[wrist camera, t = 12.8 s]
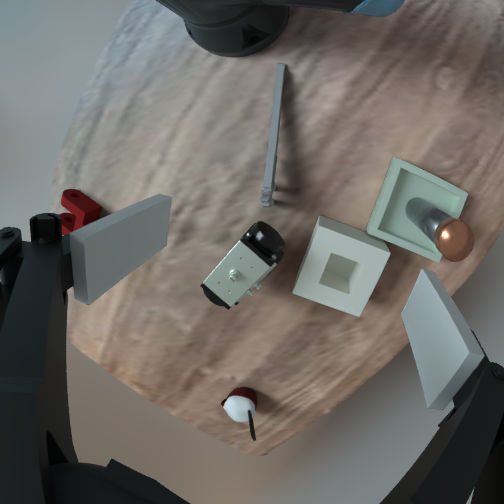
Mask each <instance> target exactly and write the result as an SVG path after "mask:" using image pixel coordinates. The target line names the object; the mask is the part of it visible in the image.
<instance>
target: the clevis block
mask: <svg viewBox="0 0 504 504" xmlns="http://www.w3.org/2000/svg"><path fill="white" fill-rule="evenodd" d="M390 254H391V253H390V251H389V249H388V247H387V246H386V244H385V242H384V240H383V239H381V238H378V237H376V236H373V235H371V234H368V233H366V232H364V231H361V230H359V229H356V228H353V227H351V226H348V225H346V224H343V223H340V222H338V221H335V220H332V219H330V218H327V217H324V216H322V215H319V217H318V220H317V223H316V226H315V228H314V231H313V234H312V236H311V239H310V242H309V244H308V247H307V250H306V252H305V255H304V258H303V260H302V263H301V265H300V268H299V271H298V273H297V276H296V280H295V284H294V289H293V294H295V295H298V296H301V297H304V298H307V299H309V300H312V301H315V302H318V303H321V304H324V305H326V306H329V307H332V308H335V309H338V310H341V311H344V312H346V313H349V314H352V315H355V316H358V317H359V316H360V315H361V313H362V311H363V309H364V307H365V305H366V303H367V301H368V299H369V297H370V295H371V293H372V292H373V290H374V288H375V285H376V283H377V281H378V279H379V277H380V275H381V273H382V271H383V269H384V267H385V265H386V263H387V260H388V258H389V256H390Z"/></svg>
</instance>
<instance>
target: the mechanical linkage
mask: <svg viewBox="0 0 504 504" xmlns="http://www.w3.org/2000/svg"><path fill="white" fill-rule="evenodd" d="M61 204H62V206H63V207H65V208H66V209H67V210H68V211H70V212H71V213H72V214H71V213H62V214H60V216H61V219H62V234H63V235H66V234H68V233H70V232H73V231H75V230H77V229H79V228H81V227H83V226H85V225H87V224H90V223H92V222H95V221H97V220H99V219H100V218H99V215H100V211H101V208H102V206H100V205H99V204H97V203H96V202H95V201H93V200H92V199H90V198H89V197H88V196H86V195H85V194H83V193H82V192H81V191H79V190H75V189H67V190H65V191H64V192H63V194H62V199H61Z"/></svg>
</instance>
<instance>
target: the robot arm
mask: <svg viewBox="0 0 504 504" xmlns="http://www.w3.org/2000/svg"><path fill="white" fill-rule="evenodd" d="M156 1H158V2H159V3H161V4H162V5H164V6H165V7H167V8H168V9H170V10H171V11H173V12H174V13H176V14H177V15H179V16H180V17H182V18H183V20H184V22H185V26H186V29H187V32H188V34H189V35H190V37H191V38H192V39H193V40H194V42H196V43H197V44H198V45H199V46H201V47H202V48H204V49H205V50H207V51H208V52H210V53H213V54H216V55H219V56H225V57H239V56H245V55H249V54H253V53H255V52H258V51H260V50H262V49H264V48H265V47H267V46H269V45H270V44H271V43H273V42H274V41H275V40H276V39H277V38H278V37H279V36H280V34H281V33H282V32H283V30H284V28H285V26H286V24H287V21H288V17H289V7H288V6H296V7H309V8H319V9H328V10H336V11H343V13H345V14H355V13H357V14H364V15H370V16H376V17H385V16H388V15H390V14H392V13H394V12H395V11H397V10H398V9H399V8H400V7H401V5H402V4H403V2H404V1H405V0H156ZM171 200H172V197H170V196H166V195H162V194H158V195H155V196H153V197H150V198H148V199H145V200H143V201H141V202H138V203H136V204H133V205H131V206H129V207H126V208H124V209H122V210H119V211H117V212H115V213H113V214H110V215H108V216H106V217H104V218H101V219H99V220H97V221H95V222H92V223H90V224H87V225H85V226H83V227H81V228H79V229H77V230H75V231H73V232H70V233H68V234H66V235H64V236H62V219H61V216H60V215H58V214H55V213H42V214H38V215H35V216H33V217H32V218H31V219H30V231H31V242H27V241H22V238H21V230H20V229H18V228H14V227H5V228H3V229H1V230H0V279H1V282H0V504H190V503H188V502H187V501H185V500H183V499H182V498H181V497H179V496H177V495H176V494H174V493H173V492H171V491H170V490H169V489H167V488H166V487H164V486H163V485H161V484H160V483H159V482H157V481H156V480H154V479H152V478H150V477H147V476H145V475H143V474H141V473H139V472H137V471H135V470H133V469H130V468H129V467H127V466H125V465H123V464H121V463H119V462H117V461H115V460H114V459H111V460H110V462H109V464H108V465H107V467H104V466H100V465H95V464H89V463H79V462H78V459H77V456H76V453H75V450H74V446H73V442H72V435H71V427H70V418H69V407H68V393H67V373H66V327H67V306H68V294H67V290H68V289H69V288H71V287H72V286H73V287H74V296H75V299H77V300H79V301H81V302H83V303H85V304H87V305H90V304H91V303H93V302H94V301H95V300H96V299H98V298H99V297H100V296H101V295H103V294H104V293H105V292H106V291H108V290H109V289H110V288H111V287H113V286H114V285H115V284H117V283H118V282H119V281H120V280H122V279H123V278H124V277H126V276H127V275H128V274H129V273H131V272H132V271H133V270H135V269H136V268H137V267H139V266H140V265H141V264H143V263H144V262H145V261H147V260H148V259H149V258H150V257H152V256H153V255H154V254H156V253H157V252H159V251H160V250H161V249H163V248H164V247H165V246H167V235H168V226H169V217H170V208H171ZM401 316H402V319H403V322H404V325H405V328H406V331H407V334H408V337H409V341H410V344H411V347H412V350H413V354H414V357H415V361H416V364H417V368H418V371H419V375H420V379H421V383H422V387H423V391H424V394H425V399H426V403H427V407H428V409H436V410H444V409H445V407H446V406H447V405H448V404H449V403H450V401H451V400H452V399H453V402H454V406H455V407H454V408H453V409H452V411H450V413H449V414H448V415H447V416H446V417H445V418H444V419H443V420H442V422H441V423H440V424H439V425H438V426H439V427H440V426H441V427H440V428H439V430H438V431H437V433H436V434H435V436H434V437H433V439H432V440H431V441H430V443H429V444H428V446H427V447H426V448H425V450H424V451H423V453H422V454H421V455H420V456H419V458H418V459H417V460H416V462H415V463H414V464H413V466H412V467H411V468H410V469H409V471H408V472H407V473H406V474H405V476H404V477H403V478H402V479H401V480H400V481H399V483H398V484H397V485H396V486H395V487H394V488H393V490H392V491H391V492H390V493H389V494H388V495H387V496H386V497H385V499H383V501H382V502H381V503H380V504H466V502H467V501H468V499H469V497H470V495H471V493H472V491H473V489H474V492H473V496H472V501H471V504H504V368H503V367H502V366H500V365H499V364H497V363H494V362H490V361H489V360H488V358H487V356H486V354H485V352H484V350H483V348H482V347H481V345H480V343H479V341H477V340H478V339H477V337H476V335H475V334H474V332H473V331H472V330H471V329H470V328H469V326H468V325H467V323H466V321H465V320H464V318H463V316H462V315H461V313H460V311H459V310H458V308H457V306H456V305H455V303H454V302H453V300H452V299H451V297H450V295H449V294H448V292H447V291H446V289H445V288H444V286H443V285H442V283H441V282H440V280H439V279H438V277H437V276H436V274H435V273H434V272H432V271H429V270H426V269H423V268H422V270H421V272H420V274H419V277H418V279H417V281H416V283H415V286H414V288H413V290H412V292H411V294H410V296H409V298H408V300H407V303H406V305H405V307H404V309H403V311H402V313H401ZM474 487H475V488H474Z"/></svg>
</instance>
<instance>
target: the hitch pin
mask: <svg viewBox="0 0 504 504" xmlns="http://www.w3.org/2000/svg"><path fill="white" fill-rule="evenodd" d="M405 212H406V215H407V217H408V218H409V219H410V220H411V221H412V222H413V223H414V224H415V225H416V226H417V227H418V228H419V229H420V230H421V231H422V232H423V233H424V234H425V235H426V236H427V237H428V238H429V239H430V240H431V241H432V242H433V243H434V244H435V246H436V248H437V249H438V251H439V252H440V253H441V254H442V255H443V256H444V257H445V258H446V259H447V260H449V261H452V262H458V261H461V260H463V259H465V258H466V257H467V256H468V255H469V254H470V252H471V250H472V248H473V245H474V235H473V232H472V230H471V228H470V227H469V226H468V225H467V224H465V223H464V222H462V221H461V220H459V219H457V218H454V217H451V216H450V215H448V214H446V213H445V212H443V211H442V210H440V209H438V208H437V207H435V206H434V205H432V204H430V203H429V202H427V201H425V200H424V199H422V198H419V197H415V198H412V199H410V200H409V201H408V203H407V205H406V208H405Z"/></svg>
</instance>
